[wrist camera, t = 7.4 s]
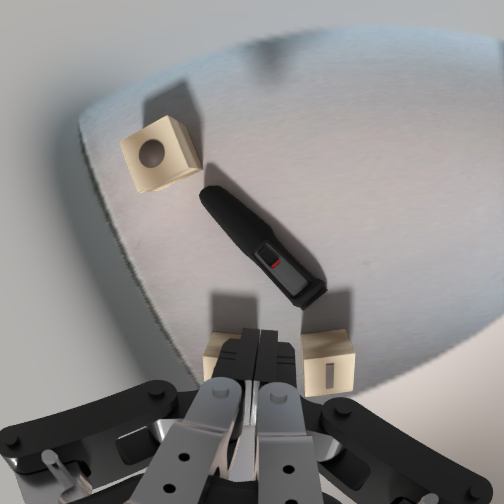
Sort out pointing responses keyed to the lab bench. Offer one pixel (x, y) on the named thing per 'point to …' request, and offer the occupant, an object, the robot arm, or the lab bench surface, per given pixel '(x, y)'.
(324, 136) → the lab bench surface
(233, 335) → the maple block
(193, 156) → the maple block
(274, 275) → the electric trimmer
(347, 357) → the maple block
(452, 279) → the lab bench surface
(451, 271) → the lab bench surface
